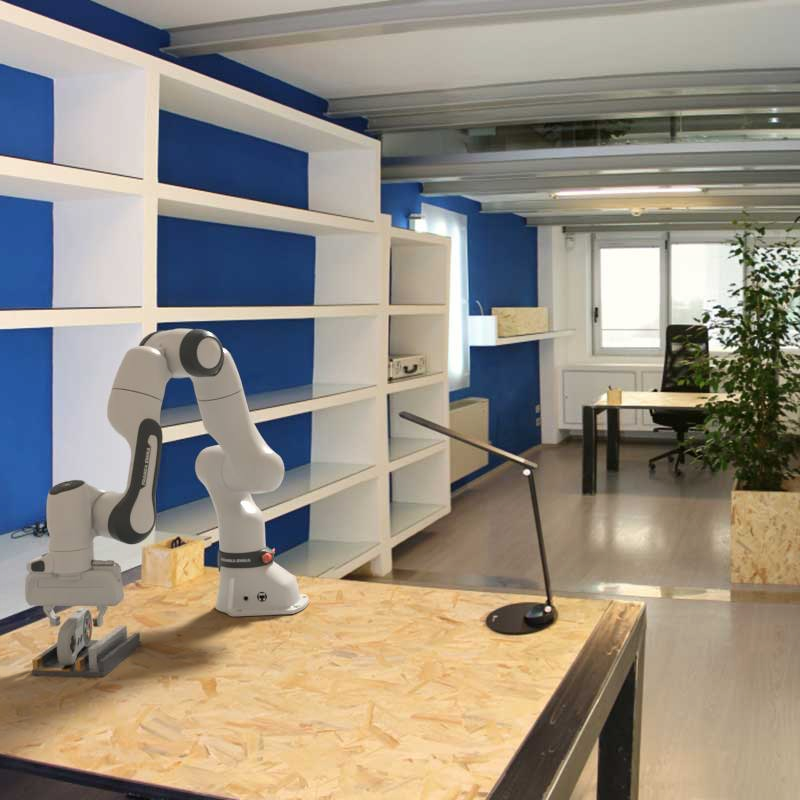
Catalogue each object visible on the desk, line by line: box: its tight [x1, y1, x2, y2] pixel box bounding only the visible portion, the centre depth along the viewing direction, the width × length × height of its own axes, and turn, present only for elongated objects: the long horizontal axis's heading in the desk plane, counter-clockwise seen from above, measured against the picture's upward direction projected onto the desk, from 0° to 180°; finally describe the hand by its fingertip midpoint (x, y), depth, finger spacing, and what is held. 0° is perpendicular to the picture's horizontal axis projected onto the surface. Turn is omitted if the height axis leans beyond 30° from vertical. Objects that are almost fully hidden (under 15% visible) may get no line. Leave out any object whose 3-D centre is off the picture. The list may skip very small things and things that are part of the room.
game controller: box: [56, 606, 93, 665], centre depth 211 cm, size 20×2×8 cm, turn 3°
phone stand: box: [31, 625, 142, 678], centre depth 211 cm, size 15×19×5 cm
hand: (76, 625), depth 212 cm, fingers open, 8 cm apart
